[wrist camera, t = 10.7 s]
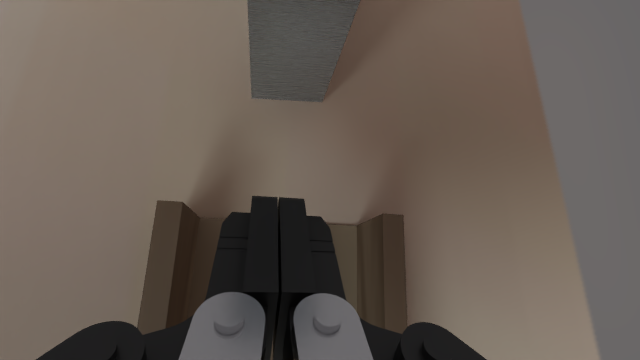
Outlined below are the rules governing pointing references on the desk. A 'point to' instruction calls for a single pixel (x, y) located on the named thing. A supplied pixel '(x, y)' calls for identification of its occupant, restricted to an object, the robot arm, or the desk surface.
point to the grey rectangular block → (296, 46)
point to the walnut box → (199, 252)
